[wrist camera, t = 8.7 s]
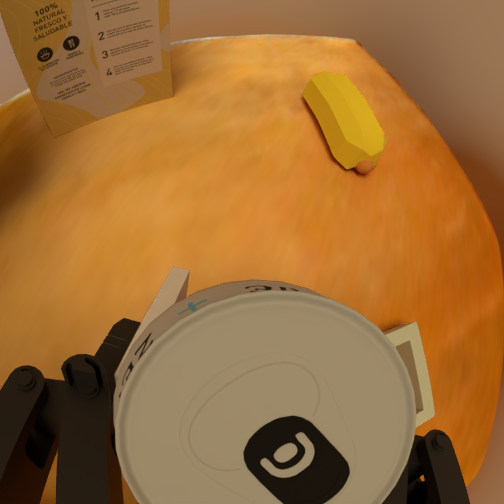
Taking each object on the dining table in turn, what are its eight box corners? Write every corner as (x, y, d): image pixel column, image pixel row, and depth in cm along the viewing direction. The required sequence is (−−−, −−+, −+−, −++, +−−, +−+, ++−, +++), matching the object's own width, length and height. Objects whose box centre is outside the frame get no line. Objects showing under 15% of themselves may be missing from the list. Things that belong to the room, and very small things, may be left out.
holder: (310, 357, 26) (323, 357, 23) (397, 325, 29) (416, 321, 25) (333, 453, 23) (347, 463, 20) (415, 412, 25) (434, 415, 22)
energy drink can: (237, 314, 19) (309, 187, 5) (291, 384, 18) (475, 423, 4) (162, 365, 17) (17, 380, 3) (218, 437, 16) (244, 607, 2)
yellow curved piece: (337, 182, 34) (383, 179, 36) (359, 149, 28) (408, 150, 29) (292, 89, 40) (335, 91, 41) (303, 56, 33) (348, 61, 35)
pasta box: (160, 63, 38) (157, -86, 12) (173, 97, 36) (172, -89, 10) (57, 97, 34) (16, -42, 8) (54, 138, 31) (-10, -28, 5)
